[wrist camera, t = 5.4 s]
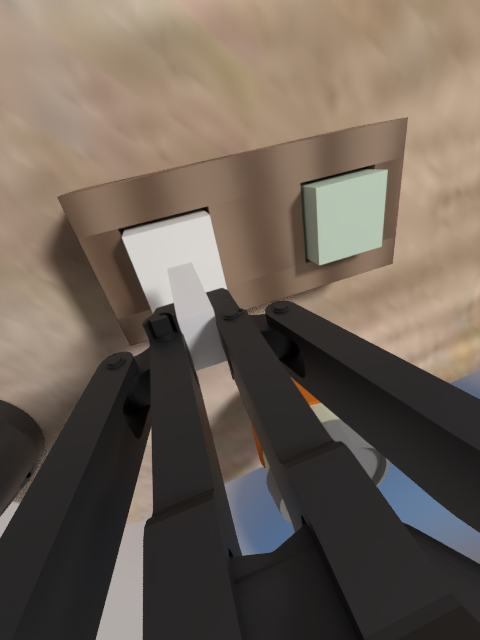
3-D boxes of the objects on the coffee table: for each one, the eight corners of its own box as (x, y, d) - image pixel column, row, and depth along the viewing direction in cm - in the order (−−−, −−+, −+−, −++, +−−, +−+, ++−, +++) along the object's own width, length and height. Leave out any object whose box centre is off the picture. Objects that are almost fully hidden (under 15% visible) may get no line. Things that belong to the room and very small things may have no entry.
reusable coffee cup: (222, 373, 36) (262, 485, 24) (309, 334, 37) (392, 421, 25) (248, 430, 43) (291, 541, 30) (322, 396, 44) (392, 489, 31)
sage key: (292, 250, 28) (319, 265, 23) (287, 183, 25) (316, 187, 20) (347, 234, 29) (381, 246, 24) (347, 168, 25) (387, 169, 21)
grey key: (152, 290, 26) (153, 314, 22) (126, 224, 23) (121, 237, 18) (215, 272, 27) (227, 292, 22) (198, 206, 23) (209, 214, 19)
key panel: (133, 314, 29) (130, 345, 24) (76, 189, 23) (57, 196, 18) (354, 248, 33) (392, 263, 28) (358, 126, 27) (407, 117, 22)
